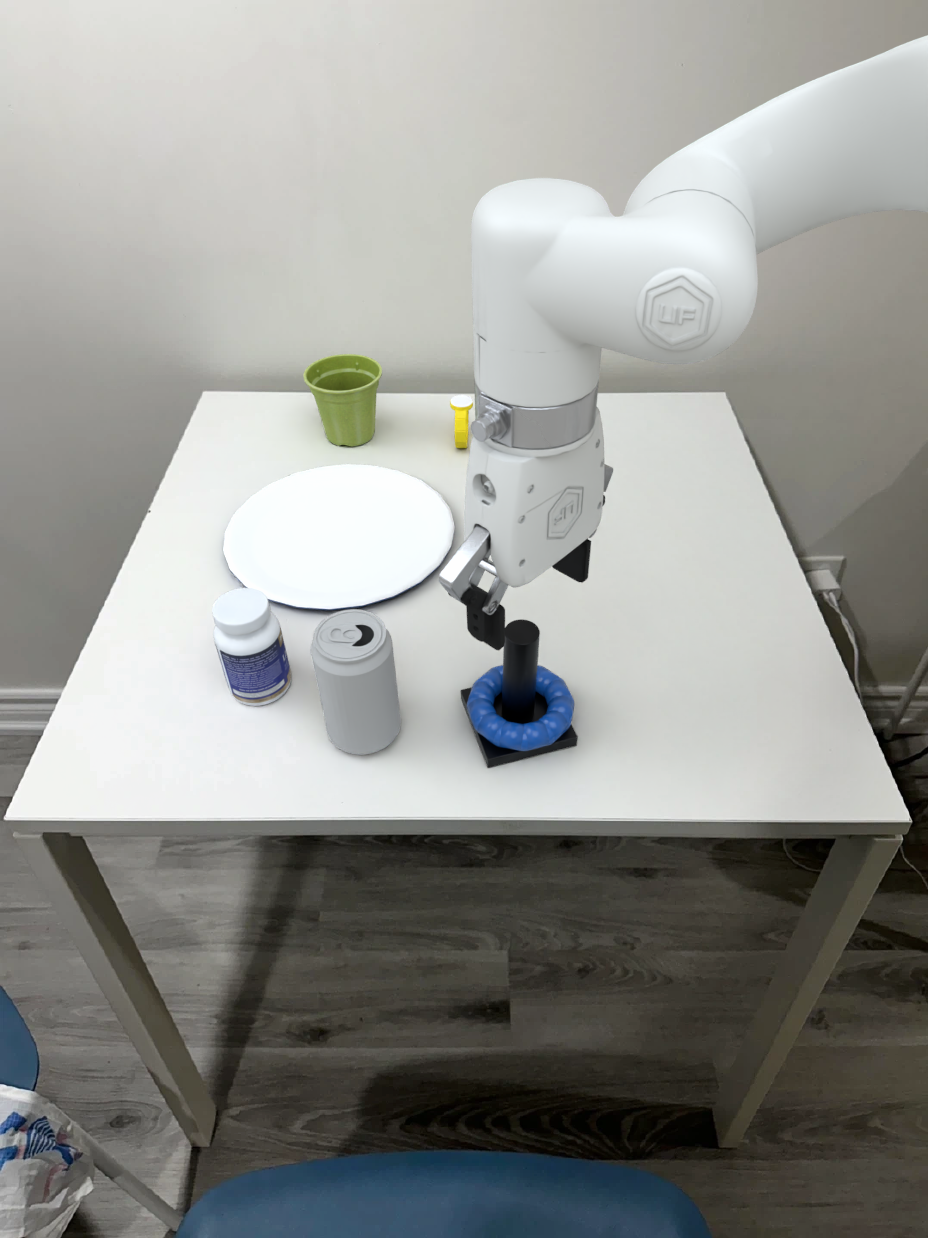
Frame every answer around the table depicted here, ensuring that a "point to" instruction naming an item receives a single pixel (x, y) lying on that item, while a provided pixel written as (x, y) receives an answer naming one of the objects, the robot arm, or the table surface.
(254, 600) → the pill bottle
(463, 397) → the watch
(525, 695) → the peg stand
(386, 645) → the beverage can
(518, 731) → the ring
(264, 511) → the plate
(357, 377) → the plant pot
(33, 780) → the table surface
